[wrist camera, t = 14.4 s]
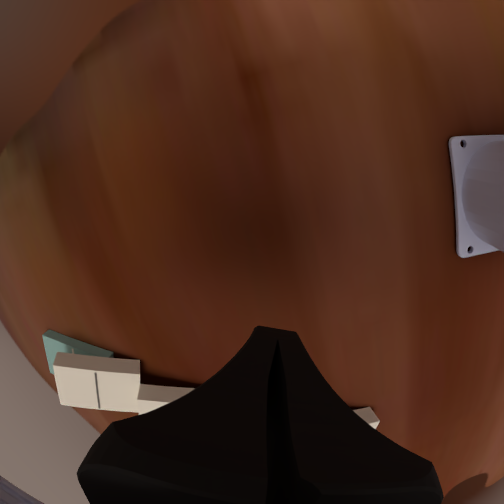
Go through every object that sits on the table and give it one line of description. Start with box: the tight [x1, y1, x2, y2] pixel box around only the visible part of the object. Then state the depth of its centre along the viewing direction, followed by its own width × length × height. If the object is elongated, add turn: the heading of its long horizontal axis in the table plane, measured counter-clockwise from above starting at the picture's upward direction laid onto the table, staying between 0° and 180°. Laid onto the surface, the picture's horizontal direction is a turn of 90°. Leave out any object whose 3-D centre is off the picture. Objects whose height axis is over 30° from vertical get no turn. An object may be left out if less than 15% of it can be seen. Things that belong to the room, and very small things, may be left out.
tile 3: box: [137, 384, 195, 415], centre depth 23 cm, size 2×4×7 cm
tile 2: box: [53, 352, 140, 412], centre depth 22 cm, size 2×4×7 cm
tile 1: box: [43, 330, 114, 374], centre depth 25 cm, size 2×4×7 cm
